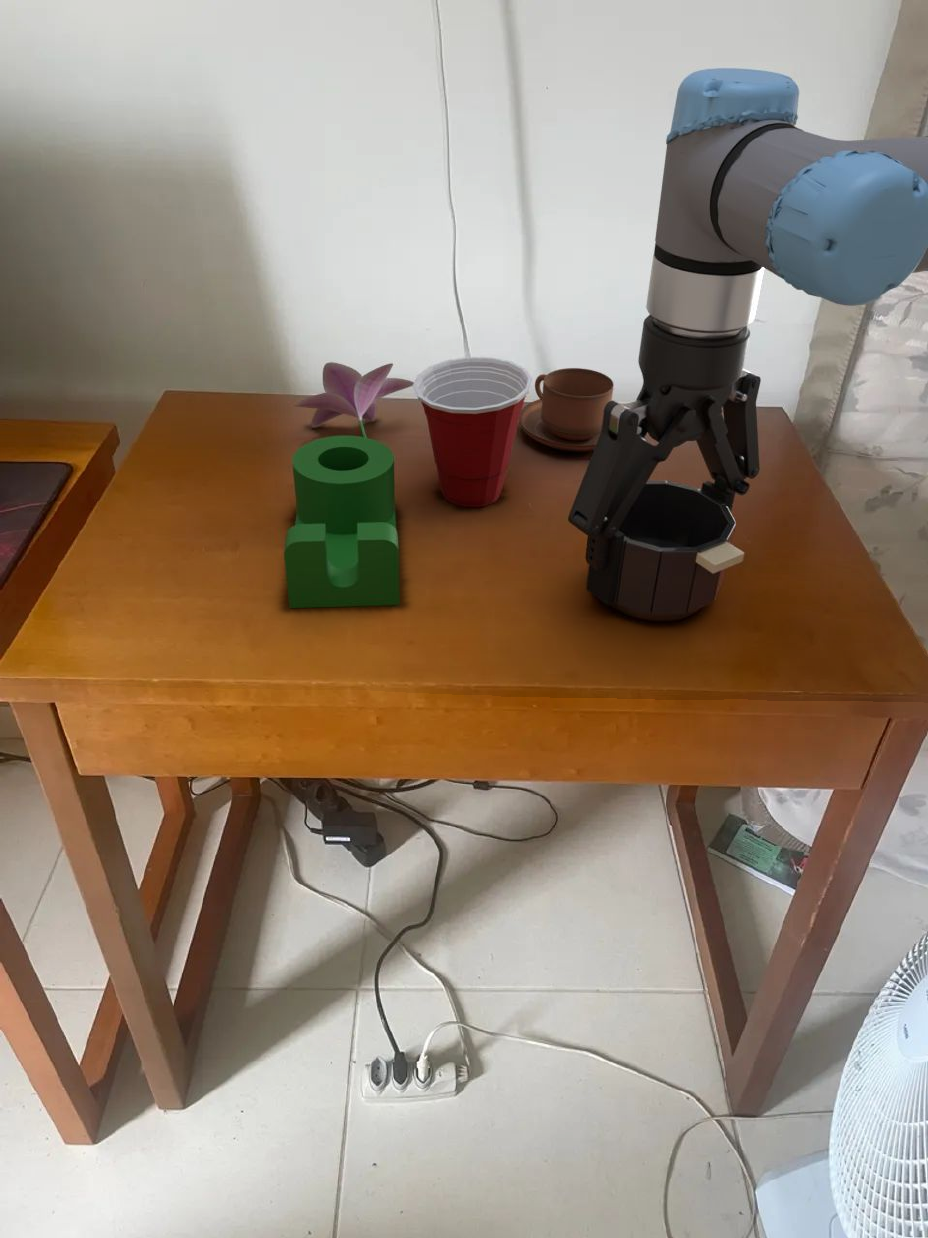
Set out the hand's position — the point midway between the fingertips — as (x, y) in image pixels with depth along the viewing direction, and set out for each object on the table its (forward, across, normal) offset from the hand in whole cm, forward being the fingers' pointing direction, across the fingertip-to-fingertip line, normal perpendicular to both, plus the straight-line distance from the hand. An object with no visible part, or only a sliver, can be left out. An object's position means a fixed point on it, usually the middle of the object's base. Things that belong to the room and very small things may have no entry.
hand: (653, 574), depth 83 cm
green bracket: (+2, +19, -19) cm, 27 cm away
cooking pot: (0, 0, 0) cm, 0 cm away
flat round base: (+2, 0, 0) cm, 2 cm away
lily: (+2, +8, -38) cm, 38 cm away
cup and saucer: (+2, -12, -26) cm, 29 cm away
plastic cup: (+2, +4, -22) cm, 22 cm away
